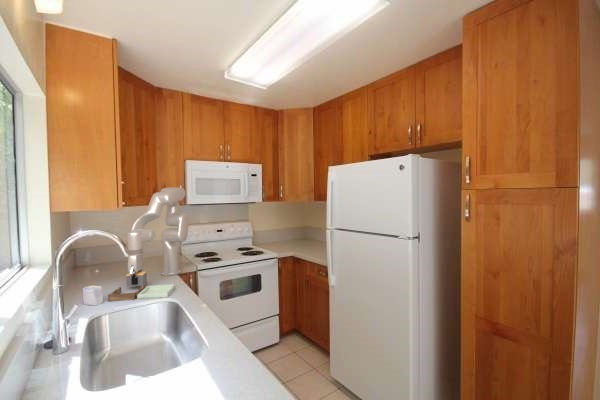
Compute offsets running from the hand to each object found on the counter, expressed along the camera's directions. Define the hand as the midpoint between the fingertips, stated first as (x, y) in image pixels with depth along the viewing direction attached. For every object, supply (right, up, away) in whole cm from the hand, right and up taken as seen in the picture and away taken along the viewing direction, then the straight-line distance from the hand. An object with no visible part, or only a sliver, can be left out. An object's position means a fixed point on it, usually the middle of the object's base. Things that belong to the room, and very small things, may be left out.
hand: (136, 282), depth 161 cm
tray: (+17, -4, -9) cm, 19 cm away
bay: (+2, -4, -12) cm, 12 cm away
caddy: (0, -2, 0) cm, 2 cm away
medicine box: (-10, -5, -21) cm, 24 cm away
